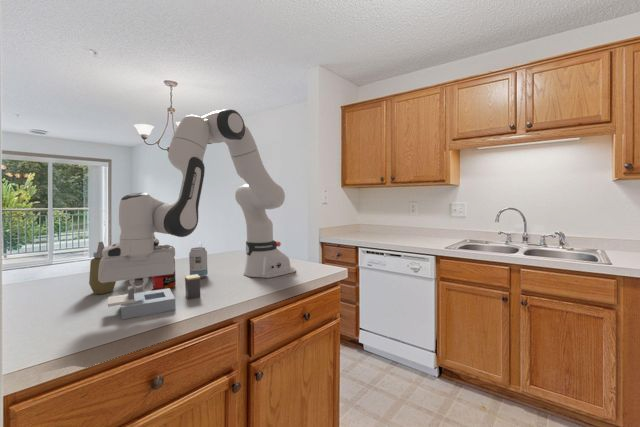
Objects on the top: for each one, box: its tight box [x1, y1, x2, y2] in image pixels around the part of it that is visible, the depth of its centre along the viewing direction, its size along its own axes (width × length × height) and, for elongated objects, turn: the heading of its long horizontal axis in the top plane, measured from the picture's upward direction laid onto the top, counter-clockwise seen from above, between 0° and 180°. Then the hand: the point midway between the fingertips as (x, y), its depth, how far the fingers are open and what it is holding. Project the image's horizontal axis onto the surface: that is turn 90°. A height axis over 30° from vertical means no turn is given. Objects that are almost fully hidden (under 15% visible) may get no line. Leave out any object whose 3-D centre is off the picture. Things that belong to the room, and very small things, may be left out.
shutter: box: [107, 285, 135, 308], centre depth 96 cm, size 7×7×3 cm
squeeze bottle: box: [88, 241, 117, 295], centre depth 115 cm, size 8×8×18 cm
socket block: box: [120, 288, 177, 321], centre depth 100 cm, size 14×12×4 cm
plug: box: [184, 274, 201, 300], centre depth 110 cm, size 4×4×7 cm
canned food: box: [151, 257, 176, 291], centre depth 120 cm, size 8×8×11 cm
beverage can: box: [188, 246, 208, 279], centre depth 134 cm, size 7×7×12 cm
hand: (139, 292), depth 98 cm, fingers closed
